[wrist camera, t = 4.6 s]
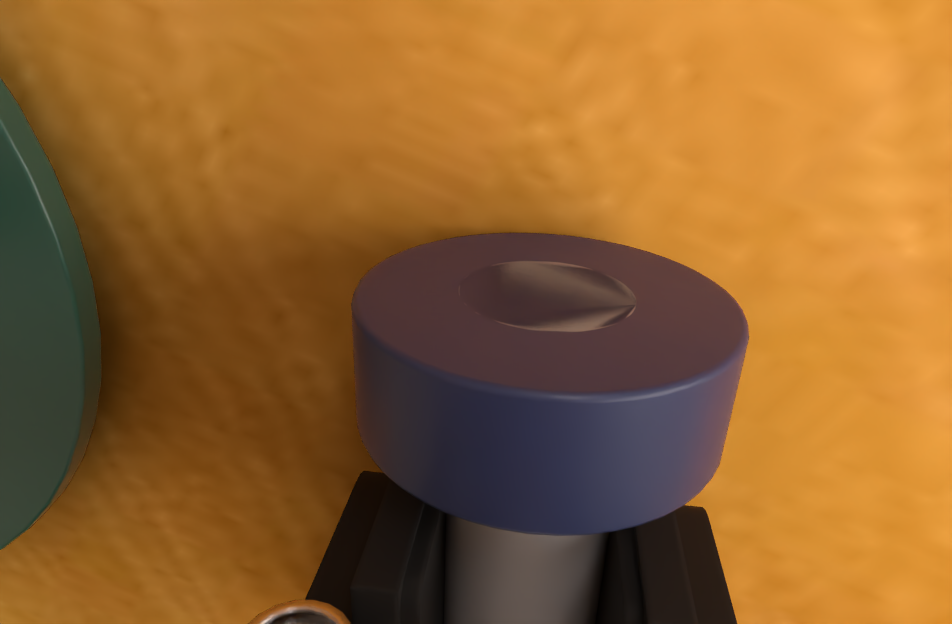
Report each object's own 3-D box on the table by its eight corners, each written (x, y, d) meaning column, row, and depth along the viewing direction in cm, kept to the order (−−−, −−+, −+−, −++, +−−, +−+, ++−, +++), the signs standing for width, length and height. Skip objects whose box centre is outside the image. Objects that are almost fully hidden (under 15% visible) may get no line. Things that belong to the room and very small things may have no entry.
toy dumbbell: (400, 221, 10) (289, 370, 6) (707, 243, 10) (808, 419, 6) (405, 619, 13) (336, 880, 9) (630, 648, 13) (658, 934, 9)
